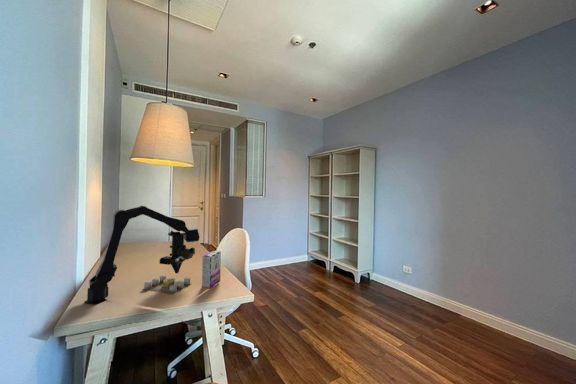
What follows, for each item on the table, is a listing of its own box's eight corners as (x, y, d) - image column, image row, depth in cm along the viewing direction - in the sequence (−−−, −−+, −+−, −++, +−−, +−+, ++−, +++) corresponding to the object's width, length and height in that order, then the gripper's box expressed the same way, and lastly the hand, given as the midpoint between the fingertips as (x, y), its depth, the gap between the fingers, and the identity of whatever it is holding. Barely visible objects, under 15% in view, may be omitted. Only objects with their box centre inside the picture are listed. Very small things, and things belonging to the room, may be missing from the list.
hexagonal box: (170, 288, 114) (170, 282, 114) (160, 287, 116) (160, 281, 116) (177, 284, 119) (177, 278, 119) (168, 283, 120) (168, 277, 120)
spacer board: (162, 302, 102) (162, 293, 102) (129, 296, 106) (129, 288, 106) (192, 285, 121) (192, 277, 121) (163, 281, 125) (163, 274, 125)
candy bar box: (212, 280, 129) (212, 250, 129) (220, 281, 128) (221, 251, 128) (201, 288, 118) (202, 255, 118) (210, 289, 117) (211, 256, 117)
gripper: (178, 248, 112) (177, 281, 112) (202, 241, 130) (201, 269, 130) (159, 246, 115) (158, 278, 114) (184, 239, 133) (183, 267, 132)
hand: (176, 273), depth 123 cm, fingers closed
